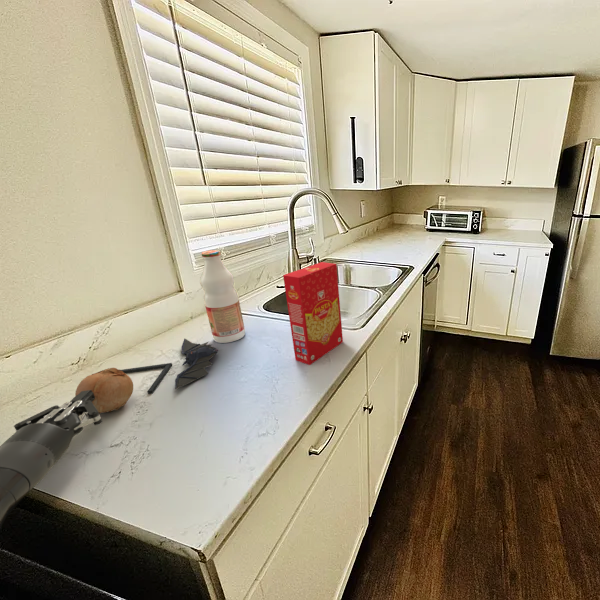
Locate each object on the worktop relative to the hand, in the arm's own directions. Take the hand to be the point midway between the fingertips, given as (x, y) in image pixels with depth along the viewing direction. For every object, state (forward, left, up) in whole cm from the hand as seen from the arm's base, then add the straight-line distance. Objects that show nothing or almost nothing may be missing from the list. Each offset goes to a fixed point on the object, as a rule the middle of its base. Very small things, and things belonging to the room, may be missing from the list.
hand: (88, 394), depth 67 cm
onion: (0, +4, -7) cm, 8 cm away
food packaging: (+47, +17, -7) cm, 50 cm away
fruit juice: (+19, +35, -7) cm, 40 cm away
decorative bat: (+14, +21, -7) cm, 26 cm away
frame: (0, +14, -7) cm, 15 cm away
